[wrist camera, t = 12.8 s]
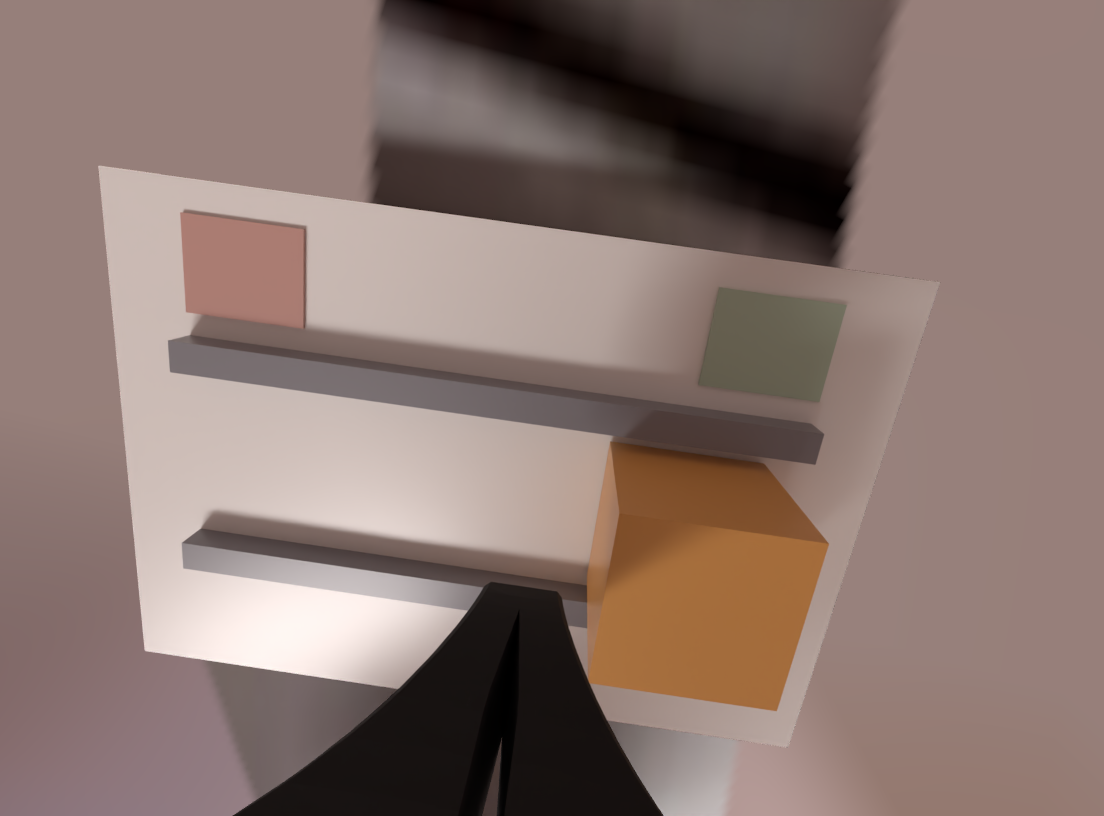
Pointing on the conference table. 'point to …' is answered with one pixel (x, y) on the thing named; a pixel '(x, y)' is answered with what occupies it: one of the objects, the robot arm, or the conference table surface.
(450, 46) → the conference table surface
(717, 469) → the orange cube
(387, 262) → the plate
